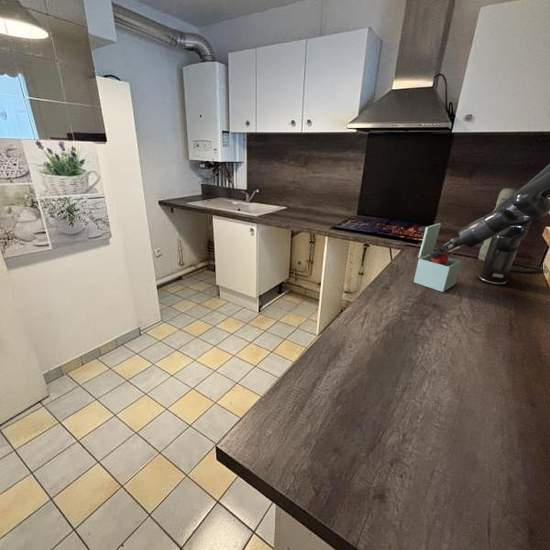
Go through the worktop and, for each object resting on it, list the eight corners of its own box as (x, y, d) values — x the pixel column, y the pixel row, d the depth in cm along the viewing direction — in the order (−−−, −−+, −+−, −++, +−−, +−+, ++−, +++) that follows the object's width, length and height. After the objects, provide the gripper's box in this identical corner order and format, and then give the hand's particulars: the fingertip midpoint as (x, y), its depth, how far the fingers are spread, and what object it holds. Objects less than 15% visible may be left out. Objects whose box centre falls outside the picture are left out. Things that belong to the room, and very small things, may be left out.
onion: (426, 264, 118) (430, 246, 115) (439, 264, 118) (444, 245, 115) (434, 270, 112) (439, 250, 109) (448, 270, 113) (453, 250, 110)
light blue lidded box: (454, 284, 119) (461, 260, 115) (442, 292, 112) (449, 267, 108) (426, 275, 127) (431, 253, 123) (413, 282, 120) (418, 258, 116)
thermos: (501, 259, 148) (526, 188, 134) (494, 264, 141) (519, 190, 127) (482, 255, 154) (503, 186, 140) (474, 259, 147) (496, 188, 133)
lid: (441, 223, 117) (429, 221, 120) (428, 227, 110) (415, 224, 114) (433, 252, 122) (421, 249, 126) (420, 258, 115) (408, 254, 119)
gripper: (476, 244, 97) (432, 267, 110) (491, 237, 105) (448, 259, 118) (463, 225, 98) (421, 250, 111) (478, 220, 107) (437, 243, 120)
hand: (435, 254), depth 115 cm, fingers open, 6 cm apart
